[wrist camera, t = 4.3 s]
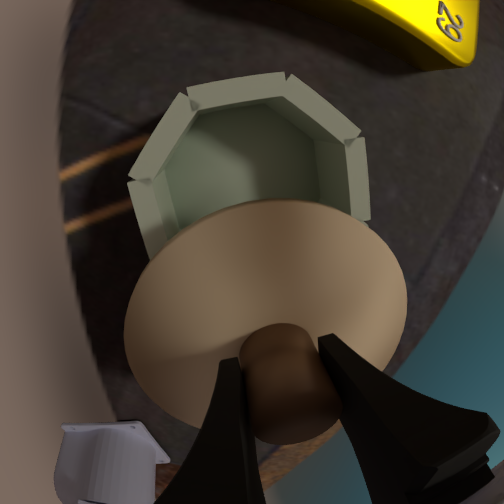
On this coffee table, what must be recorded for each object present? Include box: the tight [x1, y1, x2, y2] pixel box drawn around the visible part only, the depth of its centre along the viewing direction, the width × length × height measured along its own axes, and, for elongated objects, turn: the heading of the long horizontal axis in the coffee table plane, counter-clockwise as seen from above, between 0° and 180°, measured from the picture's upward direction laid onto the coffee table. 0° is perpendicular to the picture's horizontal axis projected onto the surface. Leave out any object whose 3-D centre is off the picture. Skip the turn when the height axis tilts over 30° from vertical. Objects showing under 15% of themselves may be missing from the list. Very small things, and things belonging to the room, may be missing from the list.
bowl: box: [127, 72, 371, 260], centre depth 15 cm, size 10×10×5 cm
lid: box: [124, 198, 407, 445], centre depth 11 cm, size 12×12×4 cm
